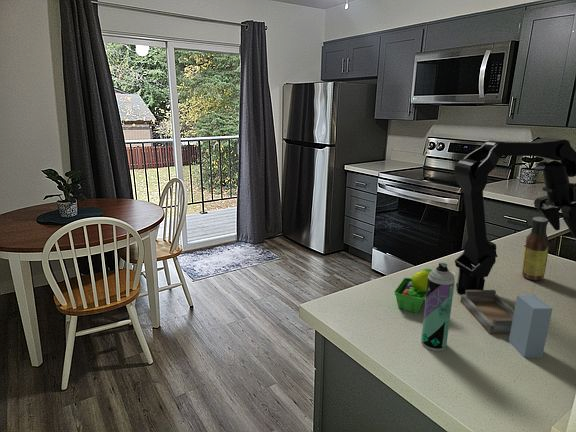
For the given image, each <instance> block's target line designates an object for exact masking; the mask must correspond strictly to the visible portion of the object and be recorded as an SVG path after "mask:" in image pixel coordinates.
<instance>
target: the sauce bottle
mask: <svg viewBox="0 0 576 432" xmlns="http://www.w3.org/2000/svg"><path fill="white" fill-rule="evenodd" d="M531 223H532V225H531V226H532V227H531V230H530V231H531V232H530V233H529V234H528V235H527V236H526V238H525V245H524V250H523V251H524V252H523V258H522V267H521V275H522V276H523V277H524V278H525V279H527V280H530V281H542V280H543V279H544V277H545V274H546V268H547V263H548V262H547V261H548V254H549V247H550V241H549V239H548V235H547V226H548V224H549V222H548V219H547V218H545V217H544V216H534V217H532V220H531Z"/></svg>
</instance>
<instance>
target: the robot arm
mask: <svg viewBox="0 0 576 432" xmlns="http://www.w3.org/2000/svg"><path fill="white" fill-rule="evenodd" d="M502 157H536V158H541V159H546V160H551V161H548V162H547V161H539V162H538V164H537V165H536V166H535V168H534V171H535V172H542V176H543V180H544V185H545V186H542V191H544V192H546V195H543V196H541V197H537V198H535V200H534V201H533V205H534V209H537V211H538V212H540V214H541V215H542V217H544V218H547V219H548V224H550V226H551V227H552V228H553V229H554V230H555V232H556V231H560V230H561V223H560V222H561V221H560V212H561V215H562V217H561V218H562V220H563V221H564V223H565V224H566V226H567V228H568V230H569V231H570V234H572V236H573V237H574V238H575V239H576V182H575V183H573V182H570V178H574V177H576V151H575V149H574V148H573V147H572V145H571V143H570V140H568V139H564V138H555V137H554V138H553V137H545V138H539V139H535V140H533V141H500V140H499V141H498V140H492V139H491V140H487V141H485V142H484V143H483V144H482V145H481V146H480V147H479V148H477V149H475V150H473V151H472V152H470V153H468V154H467V155H466V156H465V157H464V158H462V159H460V160H458V162H457V163H456V164H455V165H454V169H453V171H454V172H453V173H454V176H455V178H456V179H455V180H456V183H457V184H458V186H459V187H460V190H461V191H462V193H463V203H464V212H465V220H466V229H467V231H466V233H467V240H466V242H465V243H464V246H463V251H462V253H461V254H460V255H459V256H458V257H457V258H455V260H454V265H455V267H457V268H458V274H457V275H458V276H457V282H456V285H455V286H456V292H457V294H458V295H459V294H461V295H465V290H485V283H486V282H485V281H486V278H487V277H488V276H489V274H490V273H491V271H492V269H493V266H494V265H495V264H496V260H497V258H498V257H499V256H498V253H497V244H496V243H494V242H492V241H491V240H489V239H488V235H487V224H486V213H485V212H486V211H485V210H486V209H485V201H484V199H485V198H484V189H486V186H487V184H488V182H489V174H490V173H491V172H492V171H493V170H494V169H495V168H496V167H497V165H498V162H499V160H500V159H501V158H502Z"/></svg>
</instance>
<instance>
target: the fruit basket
mask: <svg viewBox="0 0 576 432" xmlns="http://www.w3.org/2000/svg"><path fill="white" fill-rule="evenodd" d="M431 270H432V268H428V267H426V268H424V269H423V270H422V271H418V272H415V273H414V274H412V276H411V277H404V278H403V279H402V281H401V282H400V283H399V285H398V286H397V287H396V288H395V290H394V291H393V292H394V295H395V298H396V299H395V300H396V303H397V308H398V309H399V308H401V309H400V310H403V309H405V310H404V311H407V310H408V311H407V312H413V313H415V314H418V313H419V312H420V309H421V308H422V306H423V304H424V302H425V301H426V291H427V282H428V275H429V272H430V271H431ZM423 301H424V302H423Z"/></svg>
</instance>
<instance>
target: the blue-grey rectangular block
mask: <svg viewBox="0 0 576 432" xmlns="http://www.w3.org/2000/svg"><path fill="white" fill-rule="evenodd" d="M513 309H514V315H513V320H512V326H511V332H510V334H509V339H508V342H509V343H510V345H511V346H513V348H514V349H515V350H516V351H517V352H518V353H519V354H520V355H521V356H522V357H523V358H524V359H525V358H526V359H527V358H530V359H531V358H532V359H533V358H535V357H537V358H538V359H539V358H543V356H544V351H545V347H546V342H547V336H548V331H549V328H550V323H551V319H552V312H553V307H551V306H550V305H549V304H547V303H546V302H544V301H543V300H542V299H541V298H539V297H538V296H537V295H536V294H517V295H516V299H515V305H514V308H513Z"/></svg>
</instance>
